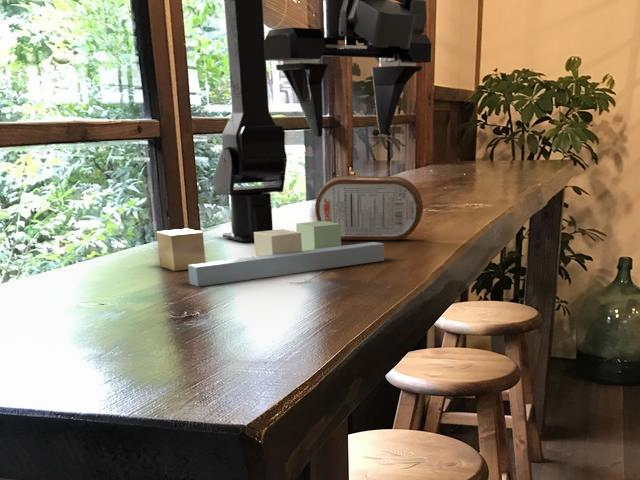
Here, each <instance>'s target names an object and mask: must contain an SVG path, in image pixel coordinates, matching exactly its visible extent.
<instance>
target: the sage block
mask: <svg viewBox="0 0 640 480" xmlns="http://www.w3.org/2000/svg"><path fill="white" fill-rule="evenodd" d="M295 227H296V232H300V233H301V240H302V251H305V250H313V249H321V248H329V247H337V246H342V240H341V224H338V223H332V222H326V221H318V220H317V221H308V222H307V221H306V222H298V223H296V224H295Z"/></svg>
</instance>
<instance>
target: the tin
mask: <svg viewBox="0 0 640 480" xmlns="http://www.w3.org/2000/svg"><path fill="white" fill-rule="evenodd" d="M423 212H424V204H423V198H422V196H421V193H420V191H419V190H418V188H417V186H415V185H414V184H413V183H412V182H411V181H410V180H408V179H406V178H404V177H402V176H401V177H400V176H391V175H390V176H387V175H386V176H385V175H384V176H381V175H379V176H378V175H377V176H375V175H374V176H373V175H361V176H360V175H338V176H336V177H333V178H331V179H329V180H328V181H327V182H326V183H324V185H323V186H322V187H321V189H320V190H319V192H318V195H317V197H316V200H315V205H314V213H315V217H316V220H317V221H326V222H332V223H338V224H341V241H342V240H343V241H400V240H403V239H405V238H407V237H409V236H411V234H412V233H413V232H414V231H415V230H416V229H417V227H418V226H419V224H420V222H421V219H422V216H423Z"/></svg>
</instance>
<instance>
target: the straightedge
mask: <svg viewBox="0 0 640 480" xmlns="http://www.w3.org/2000/svg"><path fill="white" fill-rule="evenodd" d="M384 261H385V243H383V242H377V241H370V242H364V243H363V242H362V243H355V244H348V245H347V244H346V245H341V246H337V247H329V248H321V249H313V250H305V251H297V252H288V253H280V254H272V255H264V256H256V257H255V256H248V257H241V258H231V259H224V260H215V261H209V262H208V261H207V262H206V263H199V264H191V265H188V269H187V270H188V276H189V278H188V279H189V284H190V285H192V286H195V287H197V288H199V287H205V286H211V285H219V284H226V283H234V282H242V281H248V280H255V279H256V280H257V279H263V278H269V277H270V278H271V277H276V276H284V275H290V274H291V275H292V274H299V273H306V272H313V271H319V270H326V269H334V268H341V267H349V266H355V265H363V264H369V263H377V262H384Z"/></svg>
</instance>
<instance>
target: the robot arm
mask: <svg viewBox="0 0 640 480" xmlns="http://www.w3.org/2000/svg"><path fill="white" fill-rule="evenodd" d="M223 3H224V4H223V5H224V18H225V19H224V20H225V29H226V31H225V32H226V43H227V44H226V45H227V46H226V47H227V55H228V56H227V57H228V71H229V72H228V73H229V84H230V85H229V86H230V97H231V100H230V101H231V115H230V116H229V118H228V121H227V123H226V125H225V128H224V130H223V131H222V134H221V151H220V155H219V157H218V160H217V163H216V166H215V168H214V169H215V170H214V173H213V175H212V183H213V184H212V185H213V188H214V192H215V194H217V195H222V196H229V197H228V198H229V213H230V214H229V215H230V226H231V232H227V233H226V232H225V233H222V238H226V239H228V240H229V239H230V240H234V241H238V242H242V243H243V242H244V243H245V242H254V232H261V231H270V230H274V228H273V227H274V226H273V225H274V224H273V208H272V198H271V197H272V196H271V193H283V192H284V186H285V179H286V171H287V162H288V158H287V152H286V146H285V145H286V144H285V143H286V142H285V141H286V140H285V139H286V137H285V136H286V132H285V130H284V126H282V125H279V124H277V123H276V121H275V120H274V118H273V116H272V115H271V112H270V108H269V90H268V89H269V88H268V72H267V71H268V70H267V61H269V62H271V61H273V62H281V63H282V64H275V70H276V71H281V72H282V73H283V75H284V76H285V78H286V80H287V82H288V84H289V86H290V87H291V89H292V91H293V93H294V95H295V97H296V99H297V102H298V104H299V106H300V108H301V110H302V112H303V114H304V117H305V119H306V121H307V124H308V126H309V128H310V131H311V133H312V135H313V137H316V138H320V137H322V136H323V127H324V126H323V125H324V124H323V123H324V115H323V113H324V112H323V111H324V110H323V79H324V77H325V74H326V71H327V69H328V66H329V64H328V63H320V59H321V58H322V57H338V58H339V57H340V58H368V59H369V58H371V59H375V60H376V61H377V63H378V64H379V66H372V67H371V70H372V71H371V72H372V82H373V83H372V84H373V92H374V102H375V112H376V121H377V126H378V131H379V134H380V135H388V134H389V132H390V129H391V126H392V123H393V120H394V117H395V113H396V110H397V107H398V105H399V102H400V99H401V96H402V93H403V91H404V88H405V87H406V84H407V83H408V82H409V81H410V79H411V78H412V77H413V76H414V75H415V74H416V73H417V72H422V70H423V69H424V66H422V65H416V64H432V61H433V59H432V58H433V57H432V55H433V45H432V44H433V43H432V42H431V40H430V39H429V36H428V35H427V34H424V32H425V29H426V23H427V17H428V16H427V1H426V0H402V1H401V2H398V1H397V2H396V1H391V0H323V27H320V28H310V27H308V28H307V27H285V28H275V29H269V31H268V33H267V34H266V36H265V21H264V2H263V0H223ZM344 41H345V42H344ZM339 42H344V43H345V44H339ZM358 44H359V45H358ZM361 44H363V45H361ZM253 183H262V184H260V185H246V186H245V185H243V186H235V184H236V185H238V184H253Z"/></svg>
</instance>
